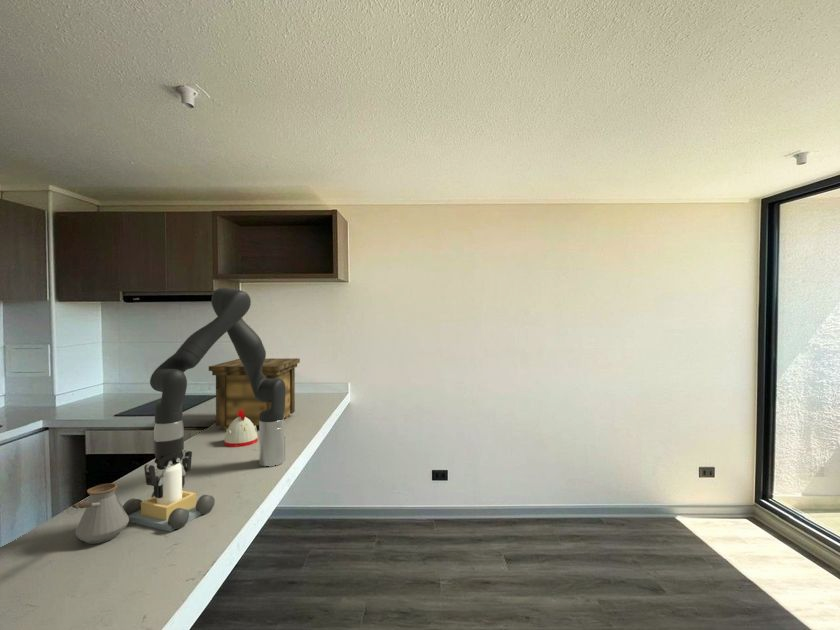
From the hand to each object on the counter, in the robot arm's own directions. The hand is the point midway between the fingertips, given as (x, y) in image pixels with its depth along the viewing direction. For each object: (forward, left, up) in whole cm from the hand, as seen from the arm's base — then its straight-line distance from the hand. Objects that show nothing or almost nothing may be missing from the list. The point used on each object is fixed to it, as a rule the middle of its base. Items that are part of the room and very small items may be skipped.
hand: (169, 492), depth 124 cm
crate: (-92, -48, -7) cm, 104 cm away
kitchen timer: (-62, -31, -7) cm, 69 cm away
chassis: (0, 0, -7) cm, 7 cm away
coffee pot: (+19, -3, -7) cm, 20 cm away
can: (0, 0, -3) cm, 3 cm away
